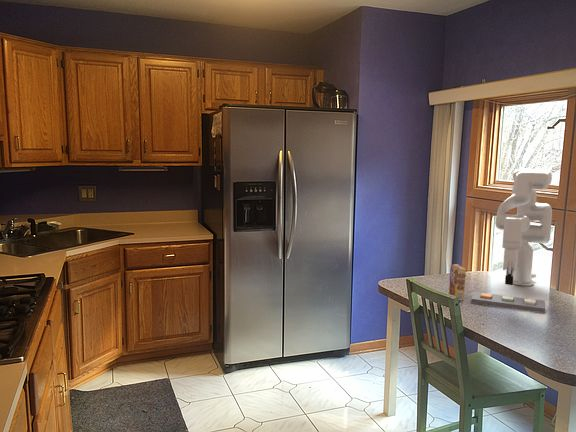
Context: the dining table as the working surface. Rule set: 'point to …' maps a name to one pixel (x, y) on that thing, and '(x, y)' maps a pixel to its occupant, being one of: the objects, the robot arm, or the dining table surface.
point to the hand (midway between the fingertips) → (508, 284)
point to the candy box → (457, 281)
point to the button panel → (516, 304)
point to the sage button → (507, 298)
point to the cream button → (529, 301)
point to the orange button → (486, 295)
